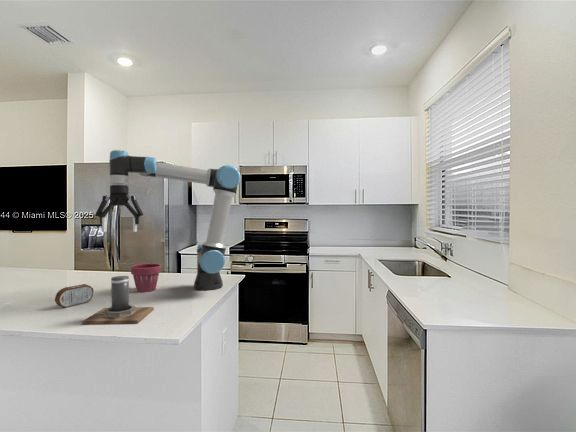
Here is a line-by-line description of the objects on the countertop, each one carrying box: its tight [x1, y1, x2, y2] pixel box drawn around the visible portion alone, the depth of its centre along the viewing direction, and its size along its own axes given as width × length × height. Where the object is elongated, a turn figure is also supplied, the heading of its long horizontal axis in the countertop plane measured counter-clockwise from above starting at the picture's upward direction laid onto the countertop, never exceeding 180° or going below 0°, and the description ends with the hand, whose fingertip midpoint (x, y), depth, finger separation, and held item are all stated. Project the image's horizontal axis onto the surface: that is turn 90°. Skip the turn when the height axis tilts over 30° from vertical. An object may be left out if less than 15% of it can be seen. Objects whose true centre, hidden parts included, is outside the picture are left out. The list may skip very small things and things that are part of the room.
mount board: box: [81, 304, 155, 325], centre depth 126 cm, size 20×16×3 cm
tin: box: [54, 283, 95, 308], centre depth 141 cm, size 15×3×8 cm, turn 151°
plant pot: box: [130, 263, 162, 293], centre depth 167 cm, size 14×14×13 cm
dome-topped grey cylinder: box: [110, 275, 130, 312], centre depth 126 cm, size 6×6×14 cm
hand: (119, 231), depth 147 cm, fingers open, 13 cm apart
